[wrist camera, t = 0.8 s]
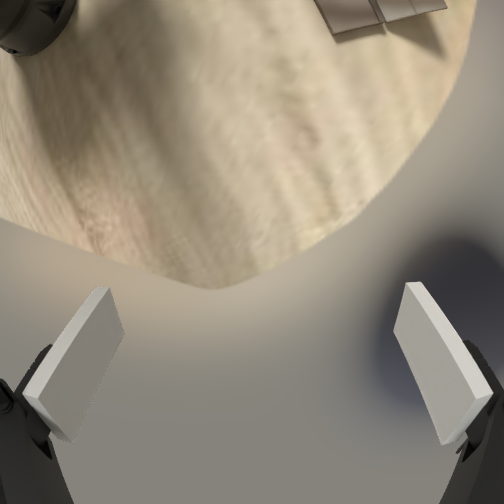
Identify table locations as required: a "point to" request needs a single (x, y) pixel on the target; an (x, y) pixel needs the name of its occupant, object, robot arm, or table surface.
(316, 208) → the table surface
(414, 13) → the plank
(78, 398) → the robot arm
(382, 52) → the table surface
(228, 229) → the table surface
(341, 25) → the laid board
